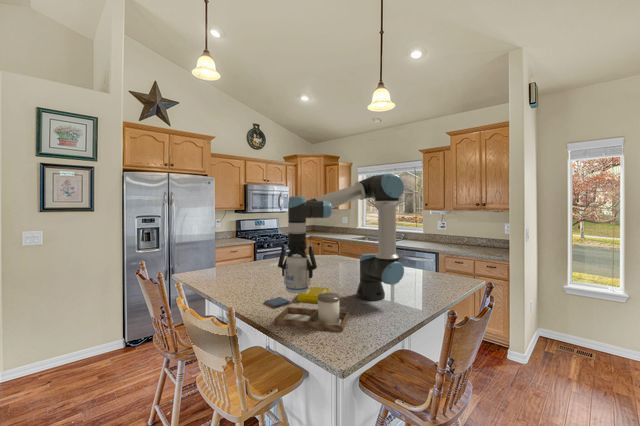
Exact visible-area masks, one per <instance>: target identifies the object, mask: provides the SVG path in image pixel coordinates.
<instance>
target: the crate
mask: <svg viewBox="0 0 640 426" xmlns="http://www.w3.org/2000/svg"><path fill="white" fill-rule="evenodd" d="M290 313H292V314H290ZM293 313H294V314H293ZM289 314H290V315H289ZM309 315H311V316H309ZM340 318H343V320H341V319H340ZM349 318H350V312H348V311H339V324H328V323H319V322H318V308H317V309H316V308H305V307H298V306H297V307H295V306H287V307H286V308H285V309H283V310H282V311H281V312H280V313H279V314H278V315H277V316H276V317H275V318H274V326H275V327H276V326H277V325H283V326H291V327H298V328H299V327H300V328H306V329H307V328H309V329H316V330H324V331H325V330H326V331H335V332H343V331H344V329H345V327H346V325H347V323H348V320H349ZM315 319H316V320H315Z"/></svg>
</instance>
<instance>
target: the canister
mask: <svg viewBox="0 0 640 426" xmlns="http://www.w3.org/2000/svg"><path fill="white" fill-rule="evenodd" d="M317 299H318V304H317V309H318V316H317V319H318V322H319V323H328V324H339V319H340V317H339V312H340V301H341V295H340V294H337V293H335V292H330V293H322V294H319V295H318V296H317Z"/></svg>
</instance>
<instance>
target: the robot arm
mask: <svg viewBox="0 0 640 426" xmlns="http://www.w3.org/2000/svg"><path fill="white" fill-rule="evenodd" d="M404 191H405V184H404V181H403V179H402V178H401V176H399V175H398V174H396V173H385V174H378V175H377V174H376V175H372V176H370V177H367V178H364V179H362V180H360V181H356V182H355V183H354V184H353V185H350V186H347V187H344V188H342V189H338V190H335V191H332V192H330V193H326V194H323V195H319V196H317V197H313V198H311V199H308V200H307V198H306V196H302V195H297V196H295V195H293V196H289V197H288V201H287V212H288V213H287V214H288V217H287V218H288V220H287V221H288V223H287V224H288V225H287V226H288V227H287V231H288V234H287V235H288V237H287V239H288V243H287V244H285V243H284V244H282V245H281V246H280V248H281V251H280V256H279V260H278V263H277V267H278V268H280V269H281V276H282V277H283V285H285V286H286V260H287V257H291V256H292V255H301V257H302V258H306V257H307V256H308V255H309V256H308V257H309V258H308V260H307V268H308V270H307V286H308V287H311V279H312V278H313V271H314V270H316V269H317V268H318V265H317V262H316V261H317V260H316V258H315V254H314V245H307V233H306V232H307V230H306V229H307V219H326V218H330V217H331V216H332V213H333V209H334V208H337V207H339V206H342V205H345V204H348V203H351V202H354V201H356V200H357V201H358V200H360V201H363V200H365V199H374V202H375V203H376V205H377V207H378V208H377V210H378V211H377V212H378V213H377V214H378V215H377V218H378V219H377V220H378V226H377V227H378V228H377V230H378V231H377V234H378V235H377V236H378V237H377V238H378V239H377V240H378V243H377V244H378V245H377V246H378V251H377V252H378V253H364V254H361V255H360V256H359V283H358V285H357V288H356V292H355V293H356V294H355V295H356V297H357V298H358V299H361V300H365V301H380V300H381V301H382V300H383V299H385V297H386V293H385V289H384V286H383V284H385V285H390V286H394V285H396V284H399V282H400V281H401V280H402V279H403V277H404V274H405V268H404V265H403V264H402V263H401V262H400V256H399V255H398V253H397V204H398V203H400V197H402V195H403V194H404ZM287 250H289V252H288V253H287V256H286V252H287ZM306 250H307V251H308V255H307V253H306ZM285 256H286V258H285Z"/></svg>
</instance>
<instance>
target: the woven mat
mask: <svg viewBox="0 0 640 426" xmlns="http://www.w3.org/2000/svg"><path fill="white" fill-rule="evenodd" d="M263 304H264V305H266V306H269V307H271V308H273V307H274V308H273V309H278V308H281V307H285V306H288V305H291V304H292V302H291V300H289V299H286V298H283V297H282V296H279V297H275V298H272V299H271V298H270V299H267V300H264V303H263Z"/></svg>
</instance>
